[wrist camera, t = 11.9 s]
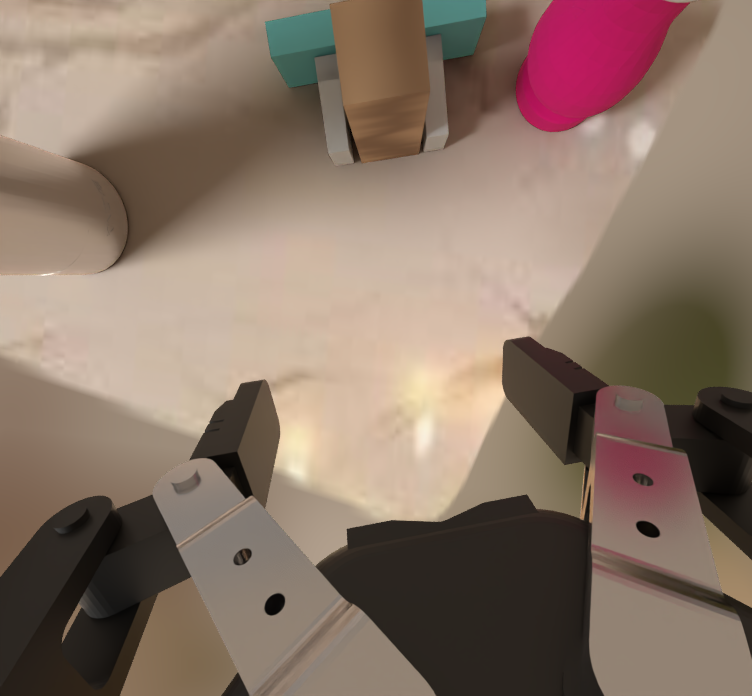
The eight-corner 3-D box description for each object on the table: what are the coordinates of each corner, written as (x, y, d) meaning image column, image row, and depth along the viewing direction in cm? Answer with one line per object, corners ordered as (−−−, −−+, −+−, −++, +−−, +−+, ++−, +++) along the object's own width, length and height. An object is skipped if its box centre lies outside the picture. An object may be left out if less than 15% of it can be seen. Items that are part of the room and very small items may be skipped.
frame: (335, 166, 28) (328, 153, 25) (323, 80, 27) (314, 57, 24) (443, 148, 27) (448, 134, 24) (436, 60, 26) (441, 33, 23)
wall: (289, 87, 27) (270, 57, 23) (284, 58, 27) (265, 21, 23) (473, 54, 26) (486, 16, 22) (471, 23, 26) (484, -22, 22)
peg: (362, 163, 28) (343, 105, 18) (353, 100, 27) (329, 4, 17) (418, 154, 28) (430, 90, 18) (412, 89, 27) (421, -15, 17)
